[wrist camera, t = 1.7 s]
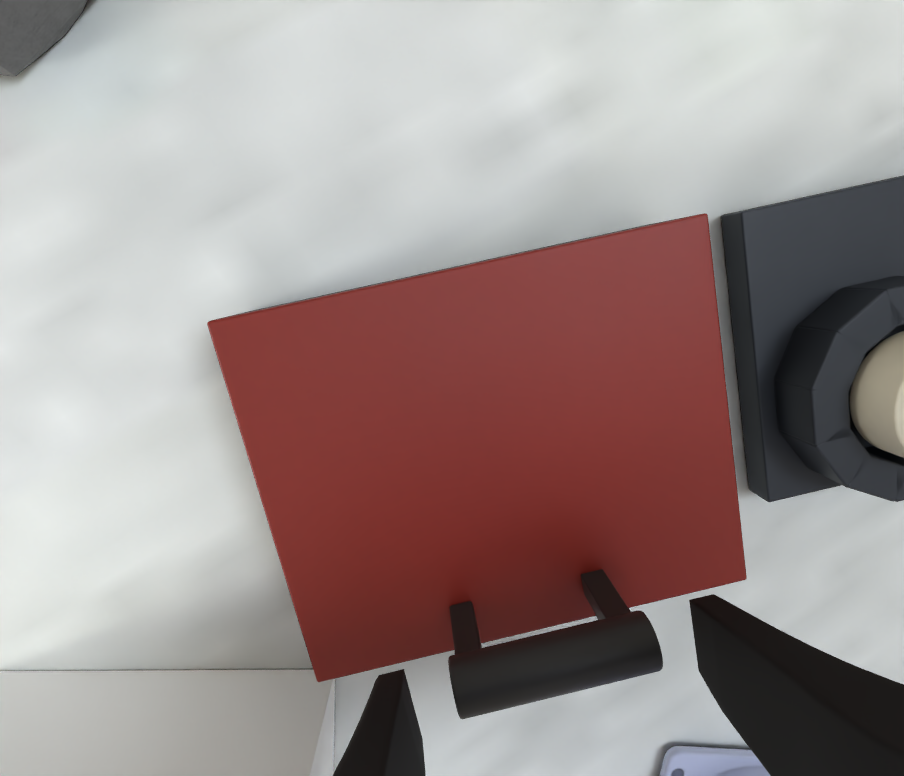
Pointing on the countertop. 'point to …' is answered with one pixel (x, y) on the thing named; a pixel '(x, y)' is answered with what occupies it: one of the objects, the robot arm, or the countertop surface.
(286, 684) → the milk
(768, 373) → the block
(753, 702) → the robot arm
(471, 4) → the countertop surface
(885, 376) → the power button
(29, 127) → the countertop surface
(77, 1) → the coffeepot
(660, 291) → the grill lid
